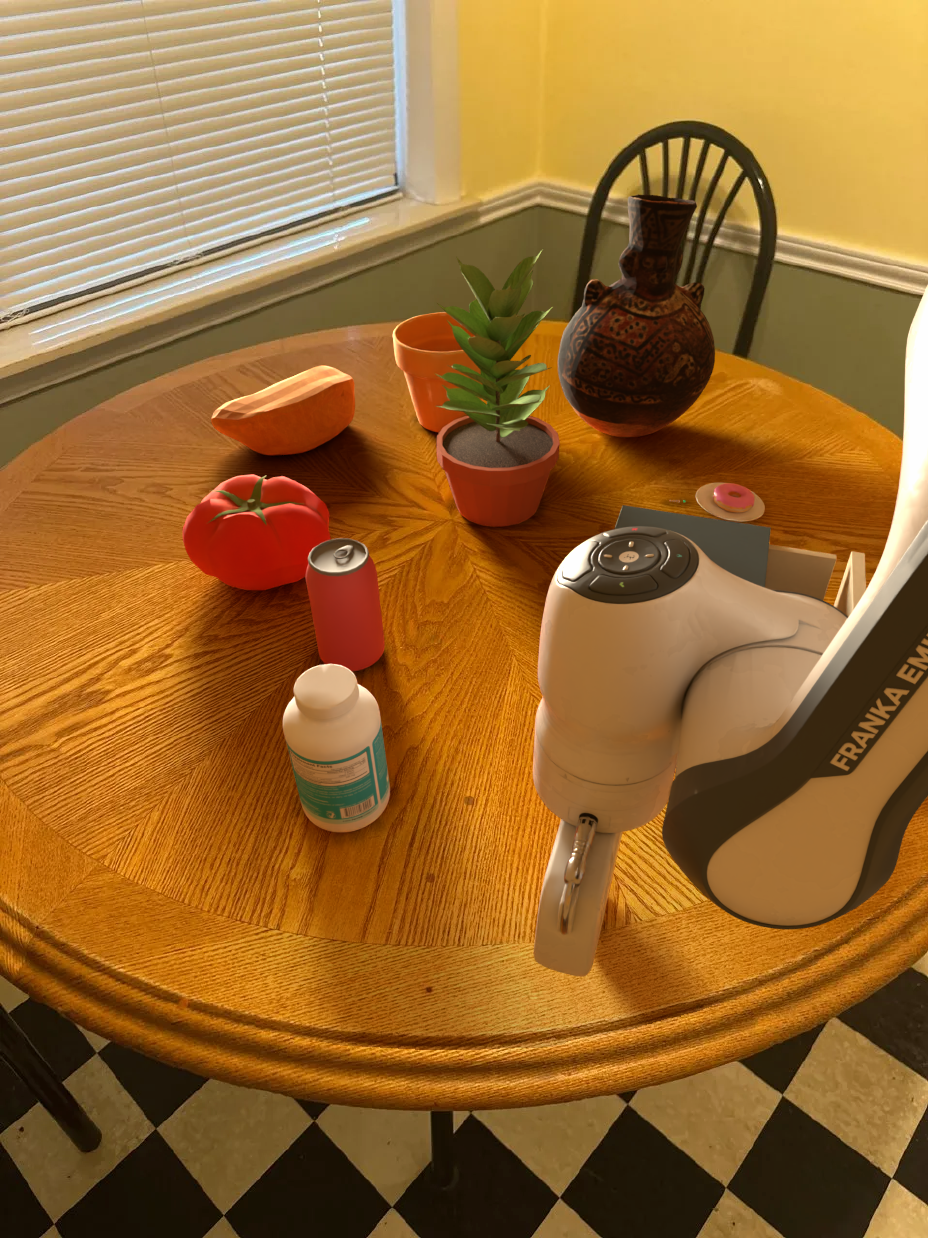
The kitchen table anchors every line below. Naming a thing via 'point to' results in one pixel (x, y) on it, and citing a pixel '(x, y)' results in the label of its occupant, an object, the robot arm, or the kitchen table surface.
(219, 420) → the orange oblong lump
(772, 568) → the wooden pull-out drawer
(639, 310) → the ceramic vessel
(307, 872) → the kitchen table surface
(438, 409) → the flower pot
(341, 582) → the beer can
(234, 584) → the tomato
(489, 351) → the potted plant
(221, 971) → the kitchen table surface
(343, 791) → the pill bottle
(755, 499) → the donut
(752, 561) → the drawer cabinet
